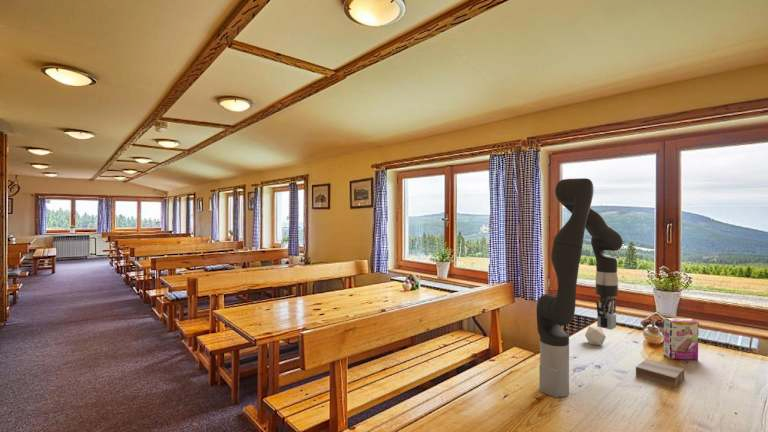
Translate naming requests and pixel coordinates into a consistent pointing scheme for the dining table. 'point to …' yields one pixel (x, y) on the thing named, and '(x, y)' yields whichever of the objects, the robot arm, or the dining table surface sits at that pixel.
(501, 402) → the dining table surface
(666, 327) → the candy bar box
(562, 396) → the robot arm
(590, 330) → the die
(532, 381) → the dining table surface
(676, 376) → the walnut block
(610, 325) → the slate cube
